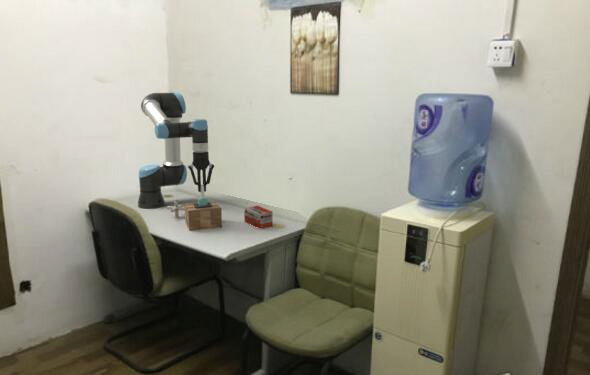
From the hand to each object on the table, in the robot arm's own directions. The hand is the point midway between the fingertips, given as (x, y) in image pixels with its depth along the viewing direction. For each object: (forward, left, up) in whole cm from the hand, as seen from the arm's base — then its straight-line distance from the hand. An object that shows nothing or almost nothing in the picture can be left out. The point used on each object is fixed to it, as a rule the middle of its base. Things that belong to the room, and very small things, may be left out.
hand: (202, 198), depth 227 cm
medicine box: (+8, +27, -15) cm, 31 cm away
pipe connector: (-18, -11, -14) cm, 26 cm away
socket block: (0, 0, -14) cm, 14 cm away
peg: (0, 0, -8) cm, 8 cm away
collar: (0, 0, -4) cm, 4 cm away
